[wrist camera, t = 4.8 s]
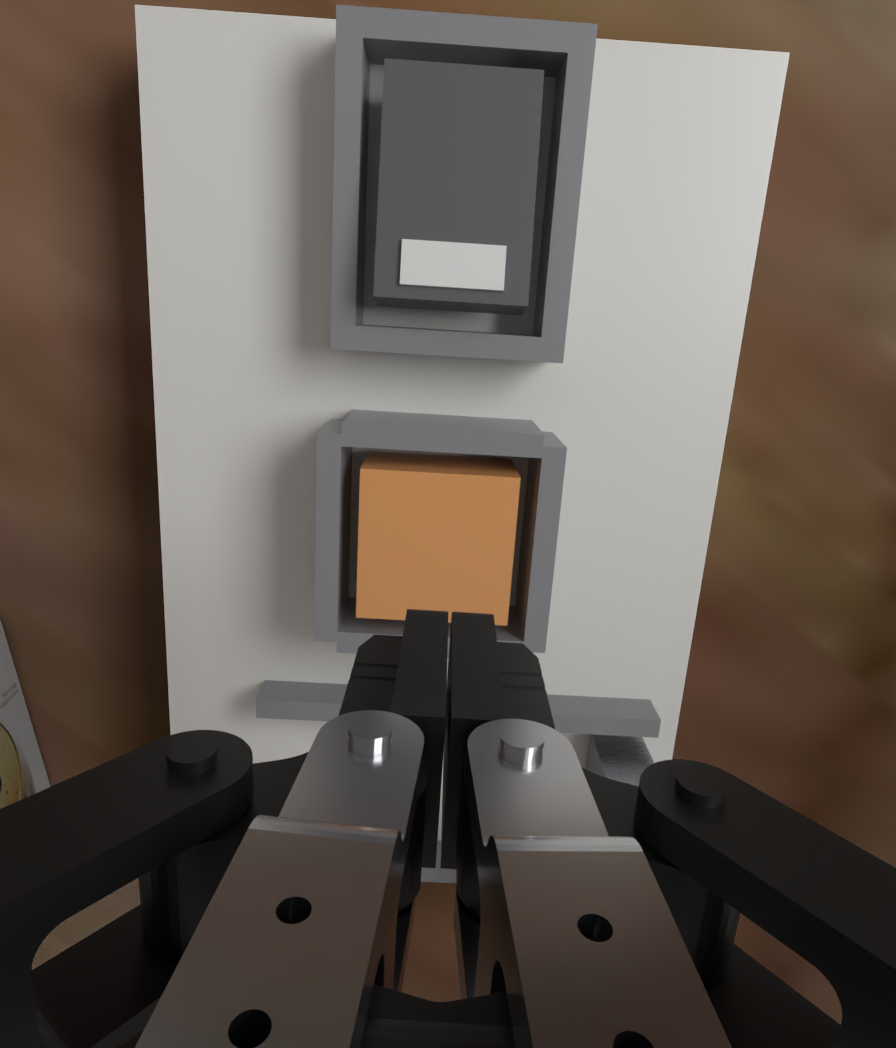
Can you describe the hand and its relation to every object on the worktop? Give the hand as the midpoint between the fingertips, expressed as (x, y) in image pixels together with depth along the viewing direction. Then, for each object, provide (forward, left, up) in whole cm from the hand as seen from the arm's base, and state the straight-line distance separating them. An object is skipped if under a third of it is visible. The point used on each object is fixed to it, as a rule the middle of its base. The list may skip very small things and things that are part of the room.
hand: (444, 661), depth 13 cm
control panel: (0, 0, -12) cm, 12 cm away
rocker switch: (0, -8, -8) cm, 11 cm away
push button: (0, 0, -9) cm, 9 cm away
